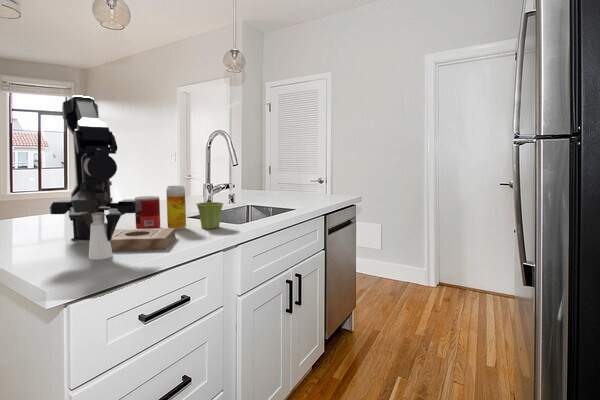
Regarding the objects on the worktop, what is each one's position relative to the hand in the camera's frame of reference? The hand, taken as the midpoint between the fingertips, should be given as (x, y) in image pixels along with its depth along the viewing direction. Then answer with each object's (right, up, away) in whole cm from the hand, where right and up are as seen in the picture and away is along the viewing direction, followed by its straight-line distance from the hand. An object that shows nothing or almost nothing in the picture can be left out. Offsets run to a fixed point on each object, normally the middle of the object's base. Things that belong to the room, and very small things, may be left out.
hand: (99, 241), depth 86 cm
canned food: (-4, 0, +36) cm, 36 cm away
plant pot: (+17, 0, +39) cm, 42 cm away
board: (+3, -2, +14) cm, 14 cm away
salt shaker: (0, -4, 0) cm, 4 cm away
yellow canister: (+6, 0, +36) cm, 36 cm away
